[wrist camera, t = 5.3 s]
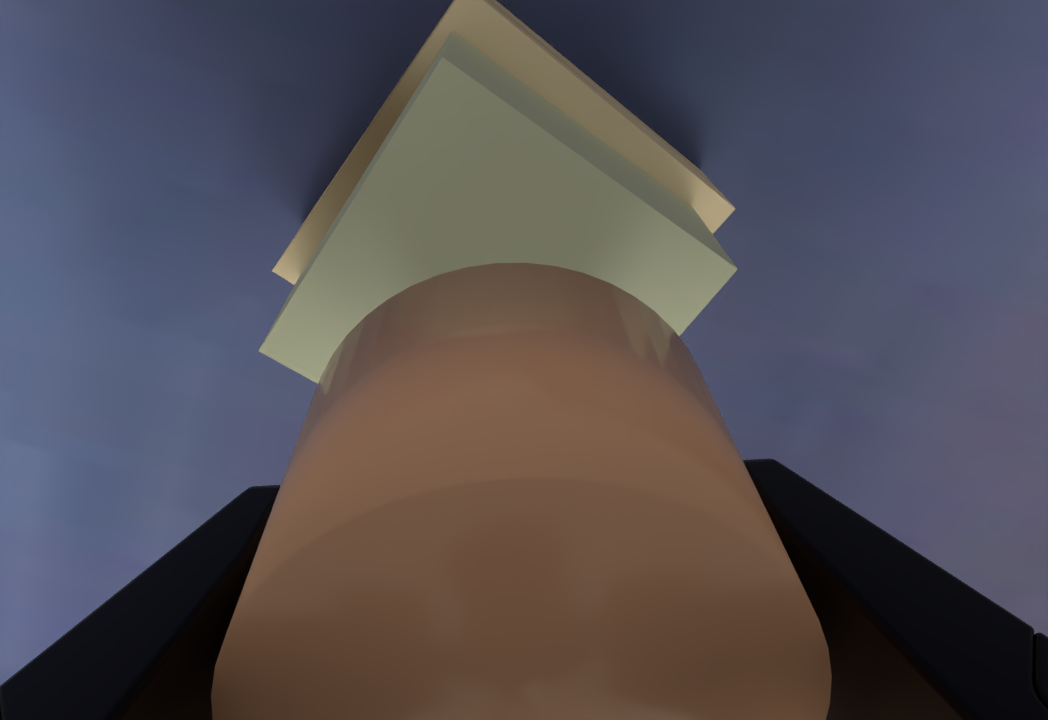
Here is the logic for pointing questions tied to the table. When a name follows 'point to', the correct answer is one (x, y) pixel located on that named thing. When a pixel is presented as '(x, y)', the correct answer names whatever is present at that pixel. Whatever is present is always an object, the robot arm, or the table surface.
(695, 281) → the top block
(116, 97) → the table surface
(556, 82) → the base block
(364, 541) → the orange-brown short cylinder
